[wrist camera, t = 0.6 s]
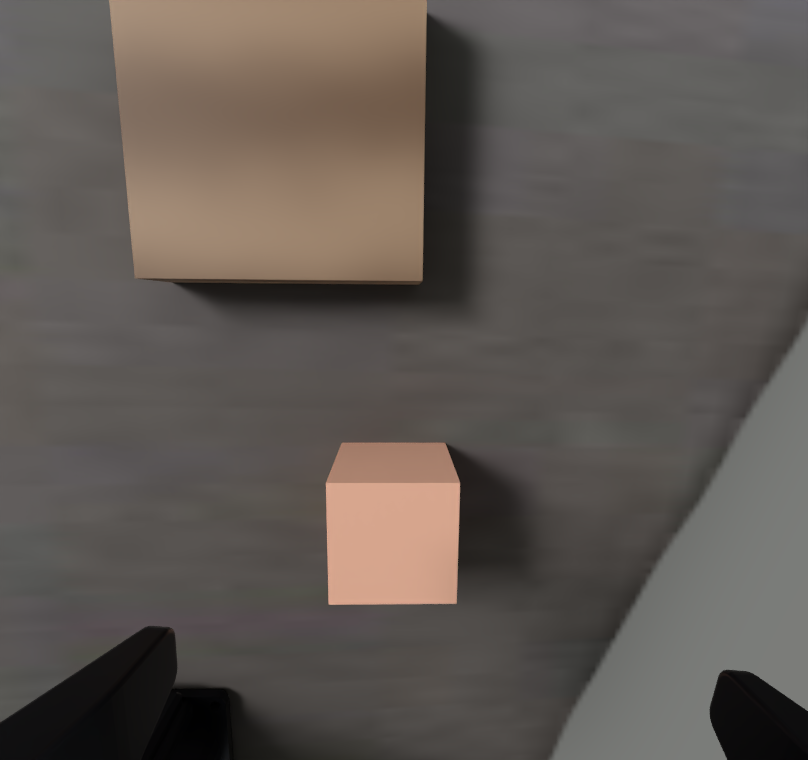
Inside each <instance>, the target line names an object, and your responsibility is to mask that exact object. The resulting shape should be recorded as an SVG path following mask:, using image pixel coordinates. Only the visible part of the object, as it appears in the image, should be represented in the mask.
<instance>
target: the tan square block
mask: <svg viewBox="0 0 808 760" xmlns="http://www.w3.org/2000/svg"><path fill="white" fill-rule="evenodd" d="M109 2H110V13H111V24H112V35H113V46H114V56H115V67H116V78H117V89H118V100H119V111H120V121H121V132H122V143H123V154H124V165H125V175H126V186H127V197H128V208H129V219H130V230H131V240H132V251H133V262H134V273H135V278H137V279H146V280H155V281H164V282H183V283H289V284H395V285H419V284H420V283H421V282H422V281H423V218H424V151H425V84H426V17H427V0H109Z"/></svg>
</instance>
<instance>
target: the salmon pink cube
mask: <svg viewBox="0 0 808 760" xmlns="http://www.w3.org/2000/svg"><path fill="white" fill-rule="evenodd" d="M326 506H327V550H328V593H329V605H343V604H457V573H458V540H459V506H460V481H459V478H458V476H457V473H456V470H455V468H454V465H453V462H452V460H451V457H450V454H449V452H448V449H447V446H446V444H445V443H342V444H341V446H340V449H339V451H338V454H337V456H336V459H335V462H334V464H333V467H332V469H331V472H330V474H329V477H328V479H327V482H326Z"/></svg>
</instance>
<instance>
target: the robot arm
mask: <svg viewBox="0 0 808 760" xmlns="http://www.w3.org/2000/svg"><path fill="white" fill-rule="evenodd" d="M176 674H177V655H176V641H175V633H174V630H173V629H172V628H170V627H160V626H148V627H145V628H143V629H142V630H140V631H138V632H137V633H135V634H134V635H132V636H131V637H129V638H128V639H126V640H125V641H123V642H122V643H120V644H119V645H117V646H116V647H114V648H113V649H111V650H110V651H108V652H107V653H105V654H104V655H102V656H101V657H99V658H98V659H96V660H94V661H93V662H91V663H90V664H88V665H87V666H85V667H84V668H82V669H81V670H79V671H78V672H76V673H75V674H73V675H72V676H70V677H69V678H67V679H66V680H64V681H63V682H61V683H60V684H58V685H57V686H55V687H54V688H52V689H50V690H49V691H47V692H46V693H44V694H43V695H41V696H40V697H38V698H37V699H35V700H34V701H32V702H31V703H29V704H28V705H26V706H25V707H23V708H22V709H20V710H19V711H17V712H16V713H14V714H13V715H11V716H9V717H8V718H6V719H5V720H3V721H2V722H0V760H233V748H232V734H231V719H230V704H229V696H228V694H227V693H226V692H225V691H223V690H219V689H195V690H171V689H172V687H173V684H174V682H175V678H176ZM215 701H216V702H218V703H216V702H215ZM710 719H711V723H712V726H713V728H714V731H715V733H716V736H717V737H718V740H719V742H720V744H721V747H722V749H723V751H724V753H725V756H726V757H727V760H808V711H807V710H805V709H804V708H802V707H801V706H799V705H798V704H796V703H795V702H794V701H792V700H791V699H789V698H788V697H786V696H785V695H784V694H782V693H781V692H779V691H778V690H776V689H775V688H773V687H772V686H770V685H769V684H768V683H766V682H765V681H763V680H762V679H760V678H759V677H758V676H756V675H754V674H753V673H750V672H747V671H736V670H724V671H722V672H721V673H720V675H719V677H718V680H717V684H716V688H715V691H714V695H713V698H712V701H711V705H710Z"/></svg>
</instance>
